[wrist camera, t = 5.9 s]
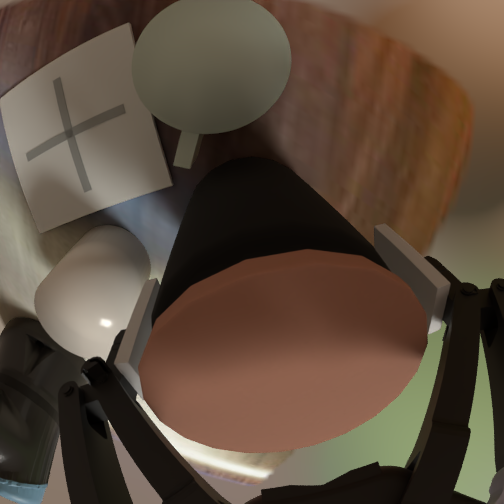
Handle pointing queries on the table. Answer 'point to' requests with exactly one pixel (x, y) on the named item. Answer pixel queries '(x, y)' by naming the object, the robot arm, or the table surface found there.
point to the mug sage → (210, 68)
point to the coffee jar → (275, 318)
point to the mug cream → (93, 291)
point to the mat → (83, 133)
